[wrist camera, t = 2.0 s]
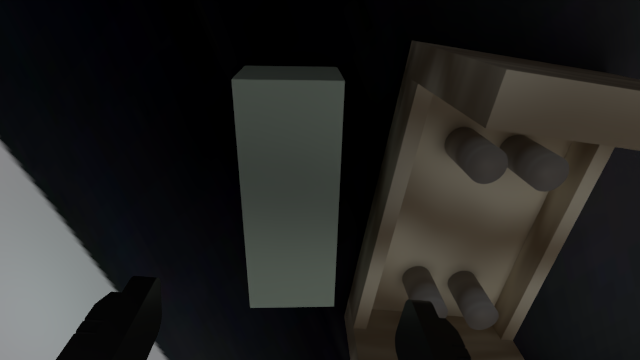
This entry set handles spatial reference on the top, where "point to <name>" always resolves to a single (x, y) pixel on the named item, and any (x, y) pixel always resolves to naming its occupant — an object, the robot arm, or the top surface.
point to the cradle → (481, 191)
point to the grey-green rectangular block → (289, 181)
